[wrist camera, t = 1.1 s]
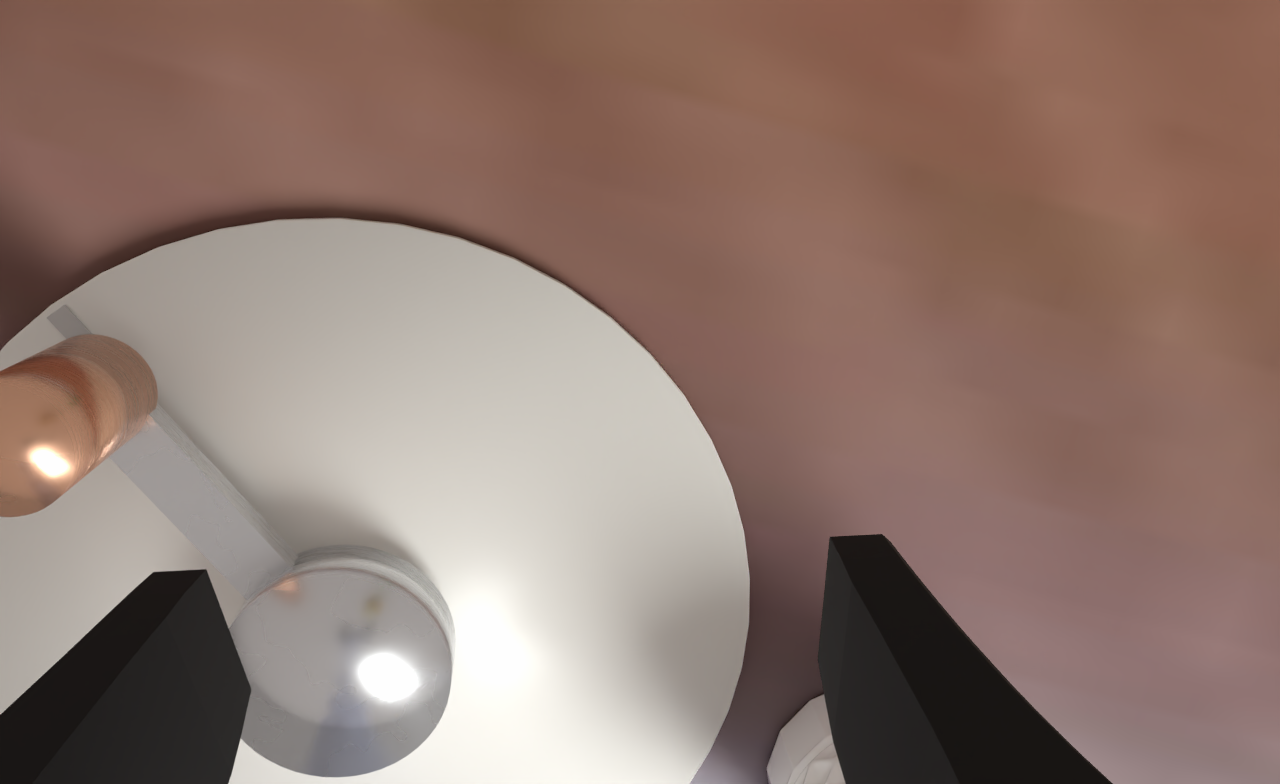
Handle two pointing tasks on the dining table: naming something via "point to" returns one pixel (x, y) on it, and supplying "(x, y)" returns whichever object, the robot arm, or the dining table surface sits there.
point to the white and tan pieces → (244, 567)
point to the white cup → (806, 749)
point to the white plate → (421, 488)
